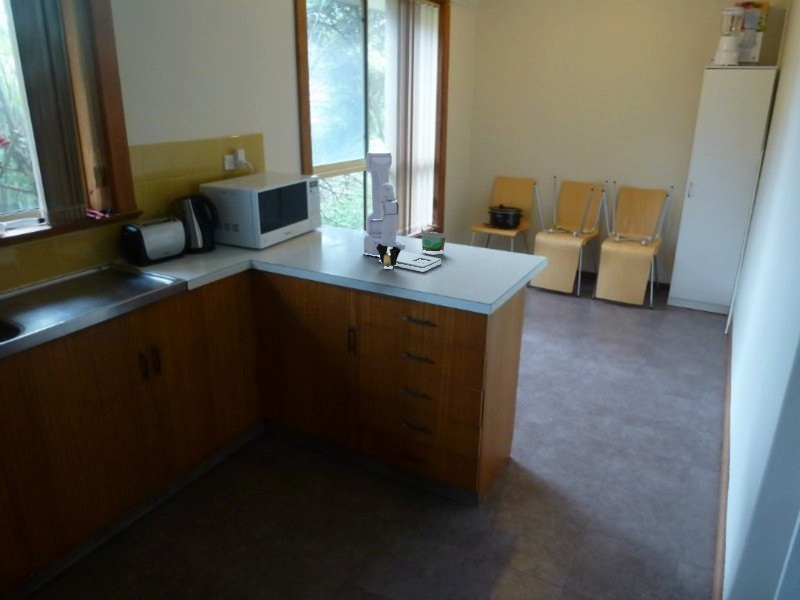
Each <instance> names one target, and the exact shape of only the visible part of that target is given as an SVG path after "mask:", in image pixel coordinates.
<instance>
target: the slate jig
mask: <svg viewBox="0 0 800 600" xmlns="http://www.w3.org/2000/svg"><path fill="white" fill-rule="evenodd" d="M419 259H421V260H427V261H429V262H427V263H425V264H424V263H420V262H415V261H417V260H419ZM379 260H381V258H380V257H379V258H378V261H379ZM440 260H441V261H442V258H439V257H434V256H431V255H426V254H419V253H414V252H409V251H405V250H401V251H400V253H399V255H398V258H397V261H396V263H398V264H404V265H409V266H414V267H419V268H425V267H427V266H430V265H432V264H434V263H436V262H438V261H440Z"/></svg>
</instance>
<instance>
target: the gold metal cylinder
mask: <svg viewBox="0 0 800 600" xmlns="http://www.w3.org/2000/svg"><path fill="white" fill-rule="evenodd" d="M383 265H384V266H387V267H389V266H392V265H391V254H390V252H387V253H384V264H382V266H383Z"/></svg>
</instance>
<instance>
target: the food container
mask: <svg viewBox="0 0 800 600" xmlns="http://www.w3.org/2000/svg"><path fill="white" fill-rule="evenodd" d="M447 235H448V234H447V232H446V231H445V232H437V231H429V230H428V231H427V230H424V229H423V228H421V230H420V234H419V236H421V243H422V244H421V246H422V251H423V250H426V251H440V250H443V251H444V249H445V242H446V238H447V237H448V236H447Z"/></svg>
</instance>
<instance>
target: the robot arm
mask: <svg viewBox="0 0 800 600" xmlns="http://www.w3.org/2000/svg"><path fill="white" fill-rule="evenodd" d="M392 156H393V155H392V153H391V152H390V151H389V150H388V151H367V153H366V156H365V166H366V167H365V168H366V172H367V173H370V177H371V199H372V201H371V204H372V205H371V206H372V212H371V213H369V215H367V217H366V219H365V230H366V231H365V232H366V234H365V236H364V238H363V253H368V254H372V255H380V258H381V262H382V263H384V253H388V251H389V253H390V254H391V265H392V266H393V265H396V261H397V258H398V255H399V253H400V251H405V250H406V244H405V243H402V242H399V241H397V216H398V215H399V209H400V207H399V201H398V200H397V198H396V197H395V192H394V187H393V184H390V180H389V179H390V176H389V175H390V174H389V170H390V169H391V166H392V163H393V157H392ZM389 247H390V249H389V250H388V248H389ZM382 263H381V264H382Z"/></svg>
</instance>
